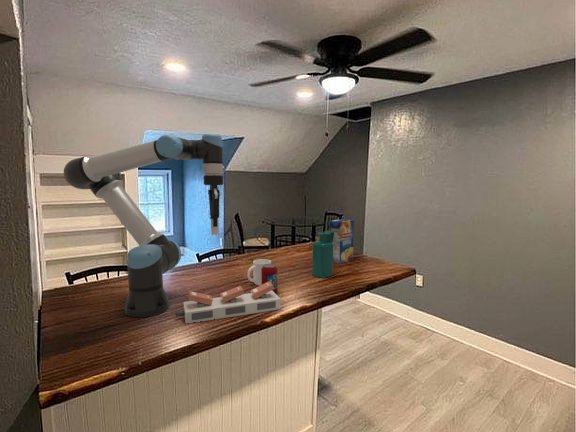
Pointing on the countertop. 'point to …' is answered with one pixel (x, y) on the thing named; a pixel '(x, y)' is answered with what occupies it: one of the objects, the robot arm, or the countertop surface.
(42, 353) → the countertop surface
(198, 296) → the block
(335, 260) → the juice carton
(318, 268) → the green bottle
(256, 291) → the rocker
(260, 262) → the mug
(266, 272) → the beverage can
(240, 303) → the power strip
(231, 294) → the rocker
